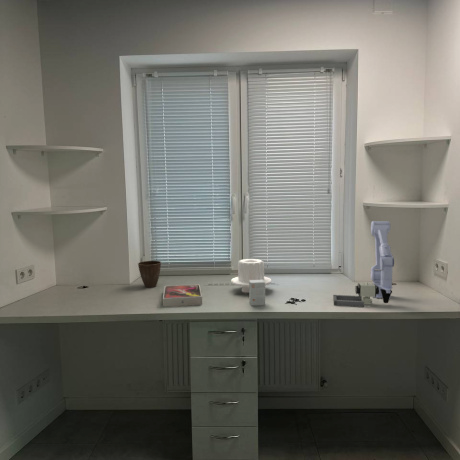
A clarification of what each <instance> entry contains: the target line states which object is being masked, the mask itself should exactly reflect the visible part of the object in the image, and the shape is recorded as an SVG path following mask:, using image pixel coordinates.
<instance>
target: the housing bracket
mask: <svg viewBox="0 0 460 460" xmlns="http://www.w3.org/2000/svg"><path fill="white" fill-rule="evenodd" d="M332 296H333V297H332V299H333V300H332V301H333V305H334V306H340V307H342V306H345V307H359V308H361V307H362V308H364V307H365V305H364V301H361V299H363V297H359V295H347V294H346V295H345V294H333V295H332Z"/></svg>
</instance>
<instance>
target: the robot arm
mask: <svg viewBox="0 0 460 460" xmlns="http://www.w3.org/2000/svg"><path fill="white" fill-rule="evenodd" d="M390 231H391V222H390V221H389V220H384V221H383V220H382V221H381V220H380V221H379V220H376V221H375V220H372V221H371V223H370V234H371V236H373V237H374V245H375V246H374V248H375V249H374V250H375V264H374V265H373V266H371V268H370V280H371V281H372V284H375V285H376V286H378V287H379V294H377V295H376V297H372V298H373V299H374V298H376V299H378V298H379V299H382V301H383V304H389V301H390V299H391V298H392V297H391V295H392V293H393V290H392V289H393V269H394V266H395V257H394V256H393V254H392V251H391V250H392V249H391V245H390V244H388V234H389V233H390Z"/></svg>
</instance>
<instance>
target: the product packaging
mask: <svg viewBox="0 0 460 460" xmlns="http://www.w3.org/2000/svg"><path fill="white" fill-rule="evenodd" d="M196 305H197V306H199V305H201V306H202V305H203V295H202V290H201V286H200V284H199V283H198V284H196V283H195V284H178V285H176V284H175V285H174V284H173V285H164V288H163V295H162V307H180V306H183V307H184V306H196Z"/></svg>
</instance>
